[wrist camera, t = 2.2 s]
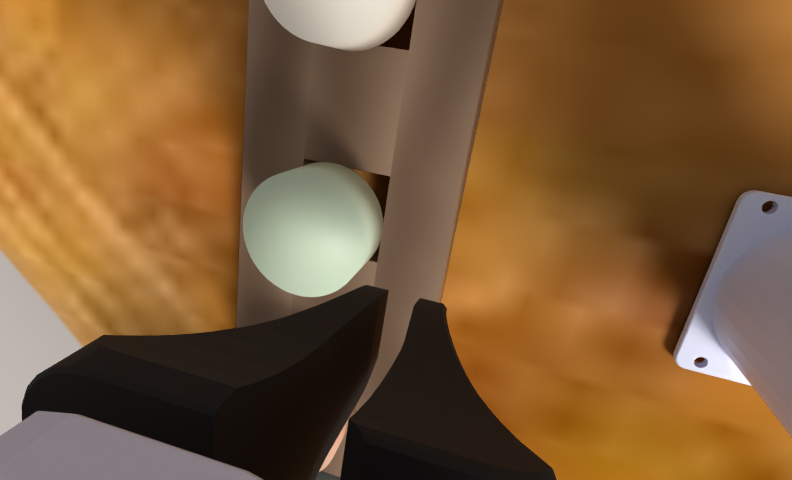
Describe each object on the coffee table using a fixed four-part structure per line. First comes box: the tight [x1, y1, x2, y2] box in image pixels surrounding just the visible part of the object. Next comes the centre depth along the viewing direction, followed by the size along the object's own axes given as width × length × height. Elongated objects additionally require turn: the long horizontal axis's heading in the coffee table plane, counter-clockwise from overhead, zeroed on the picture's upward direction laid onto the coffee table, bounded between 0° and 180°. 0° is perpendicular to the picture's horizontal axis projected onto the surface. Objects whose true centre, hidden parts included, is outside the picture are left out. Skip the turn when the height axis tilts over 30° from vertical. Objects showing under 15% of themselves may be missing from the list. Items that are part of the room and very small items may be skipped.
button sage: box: [243, 162, 383, 297], centre depth 19 cm, size 5×5×4 cm
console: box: [236, 0, 503, 477], centre depth 21 cm, size 10×30×2 cm, turn 171°
